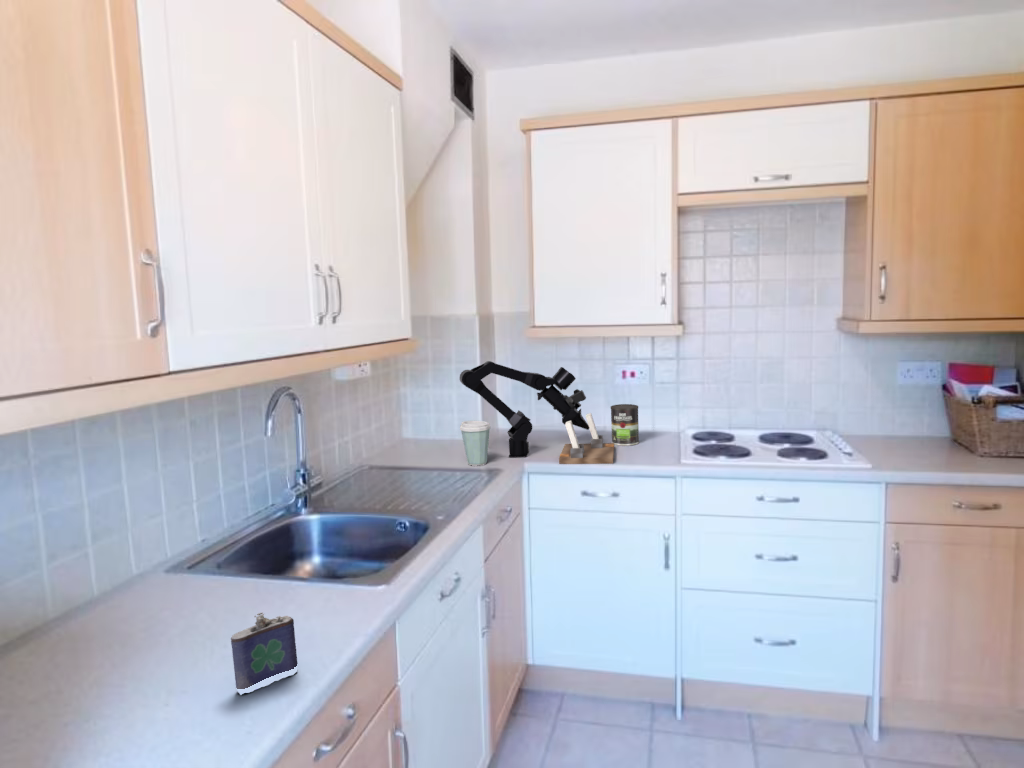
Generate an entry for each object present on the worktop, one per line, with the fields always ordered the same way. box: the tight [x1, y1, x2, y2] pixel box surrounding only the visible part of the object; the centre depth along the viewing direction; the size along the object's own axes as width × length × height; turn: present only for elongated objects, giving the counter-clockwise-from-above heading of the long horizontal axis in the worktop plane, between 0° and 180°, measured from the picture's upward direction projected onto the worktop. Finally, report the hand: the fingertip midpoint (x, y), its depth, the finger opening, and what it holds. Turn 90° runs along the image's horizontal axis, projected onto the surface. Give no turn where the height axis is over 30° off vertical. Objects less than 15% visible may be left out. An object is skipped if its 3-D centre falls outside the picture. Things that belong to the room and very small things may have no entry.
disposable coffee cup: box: [459, 420, 491, 467], centre depth 226 cm, size 11×11×15 cm
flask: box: [230, 612, 299, 689], centre depth 99 cm, size 9×3×11 cm, turn 129°
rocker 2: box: [585, 412, 600, 439], centre depth 235 cm, size 2×4×12 cm, turn 170°
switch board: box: [558, 434, 615, 465], centre depth 229 cm, size 18×22×5 cm
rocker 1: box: [564, 421, 580, 448], centre depth 223 cm, size 2×4×12 cm, turn 170°
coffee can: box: [610, 403, 640, 447], centre depth 246 cm, size 10×10×14 cm
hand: (589, 428), depth 236 cm, fingers closed
